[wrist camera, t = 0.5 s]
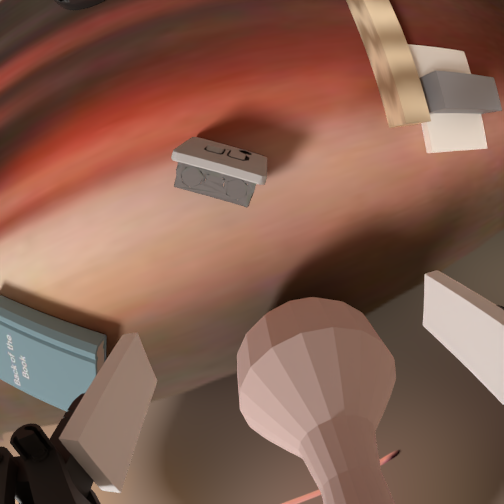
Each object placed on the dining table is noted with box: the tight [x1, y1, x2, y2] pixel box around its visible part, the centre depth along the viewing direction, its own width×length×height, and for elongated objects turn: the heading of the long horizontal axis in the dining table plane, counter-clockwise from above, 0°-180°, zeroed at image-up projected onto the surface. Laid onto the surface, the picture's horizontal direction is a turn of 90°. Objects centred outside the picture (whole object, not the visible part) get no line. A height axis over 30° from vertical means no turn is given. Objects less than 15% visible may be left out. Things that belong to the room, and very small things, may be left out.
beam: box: [346, 0, 431, 128], centre depth 30 cm, size 24×4×5 cm, turn 14°
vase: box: [237, 297, 396, 504], centre depth 27 cm, size 18×18×30 cm
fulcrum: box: [408, 44, 502, 153], centre depth 31 cm, size 16×12×6 cm
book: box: [0, 295, 107, 412], centre depth 40 cm, size 23×16×5 cm
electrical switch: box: [171, 137, 267, 207], centre depth 32 cm, size 9×5×9 cm, turn 73°
